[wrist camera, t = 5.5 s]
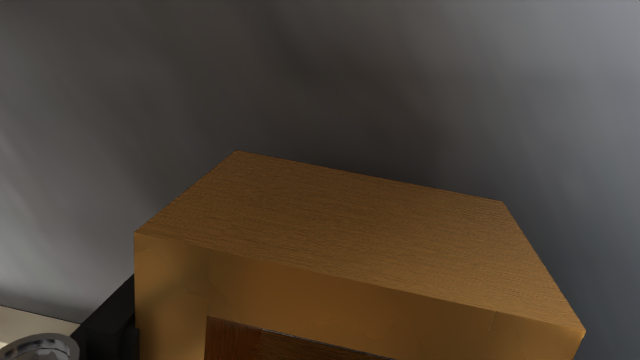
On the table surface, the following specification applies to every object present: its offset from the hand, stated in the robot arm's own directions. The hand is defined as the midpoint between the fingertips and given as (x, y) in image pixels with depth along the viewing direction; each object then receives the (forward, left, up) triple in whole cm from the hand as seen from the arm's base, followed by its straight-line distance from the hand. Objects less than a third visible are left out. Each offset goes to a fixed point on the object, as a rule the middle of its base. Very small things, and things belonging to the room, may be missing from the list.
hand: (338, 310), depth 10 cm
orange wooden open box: (0, 0, -1) cm, 1 cm away
